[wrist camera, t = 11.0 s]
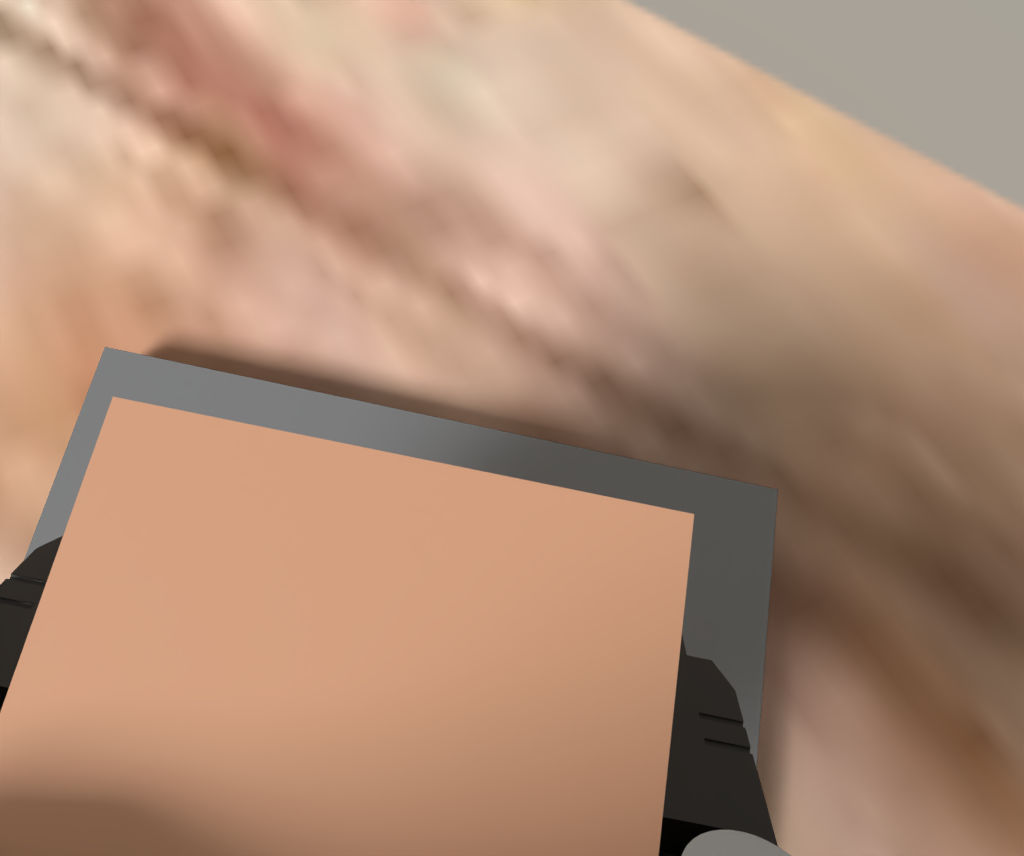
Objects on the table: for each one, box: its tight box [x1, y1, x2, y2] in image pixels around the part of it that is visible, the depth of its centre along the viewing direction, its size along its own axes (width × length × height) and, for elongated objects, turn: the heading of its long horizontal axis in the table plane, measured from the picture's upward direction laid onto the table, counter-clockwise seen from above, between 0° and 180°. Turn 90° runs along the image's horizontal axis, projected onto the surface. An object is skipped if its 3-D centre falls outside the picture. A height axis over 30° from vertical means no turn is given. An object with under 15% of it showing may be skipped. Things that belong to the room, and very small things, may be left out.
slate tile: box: [24, 347, 778, 768], centre depth 18 cm, size 14×14×1 cm
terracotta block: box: [0, 397, 694, 856], centre depth 12 cm, size 5×5×10 cm
